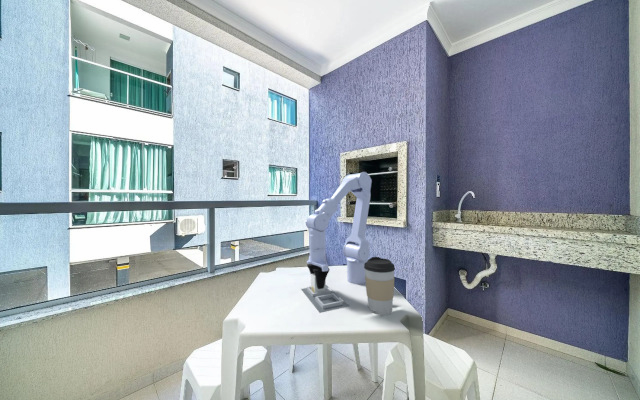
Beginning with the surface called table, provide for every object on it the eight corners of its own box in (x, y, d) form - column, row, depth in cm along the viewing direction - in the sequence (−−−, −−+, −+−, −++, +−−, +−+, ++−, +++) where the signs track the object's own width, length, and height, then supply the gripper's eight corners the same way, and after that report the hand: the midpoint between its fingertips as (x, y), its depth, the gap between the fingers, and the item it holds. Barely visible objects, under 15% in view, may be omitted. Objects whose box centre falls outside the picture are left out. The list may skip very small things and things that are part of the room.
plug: (321, 288, 81) (321, 270, 81) (325, 292, 77) (325, 273, 77) (311, 290, 80) (310, 272, 80) (314, 294, 76) (314, 275, 76)
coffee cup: (401, 315, 63) (400, 262, 63) (371, 318, 61) (370, 264, 61) (387, 301, 72) (386, 255, 72) (360, 304, 70) (359, 256, 70)
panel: (325, 286, 85) (325, 282, 85) (350, 308, 67) (350, 302, 67) (300, 291, 81) (300, 286, 81) (319, 315, 64) (319, 309, 64)
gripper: (300, 245, 84) (301, 281, 84) (313, 253, 70) (314, 295, 70) (318, 243, 86) (318, 278, 86) (333, 250, 73) (334, 292, 73)
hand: (318, 286), depth 78 cm, fingers closed on plug, 4 cm apart
